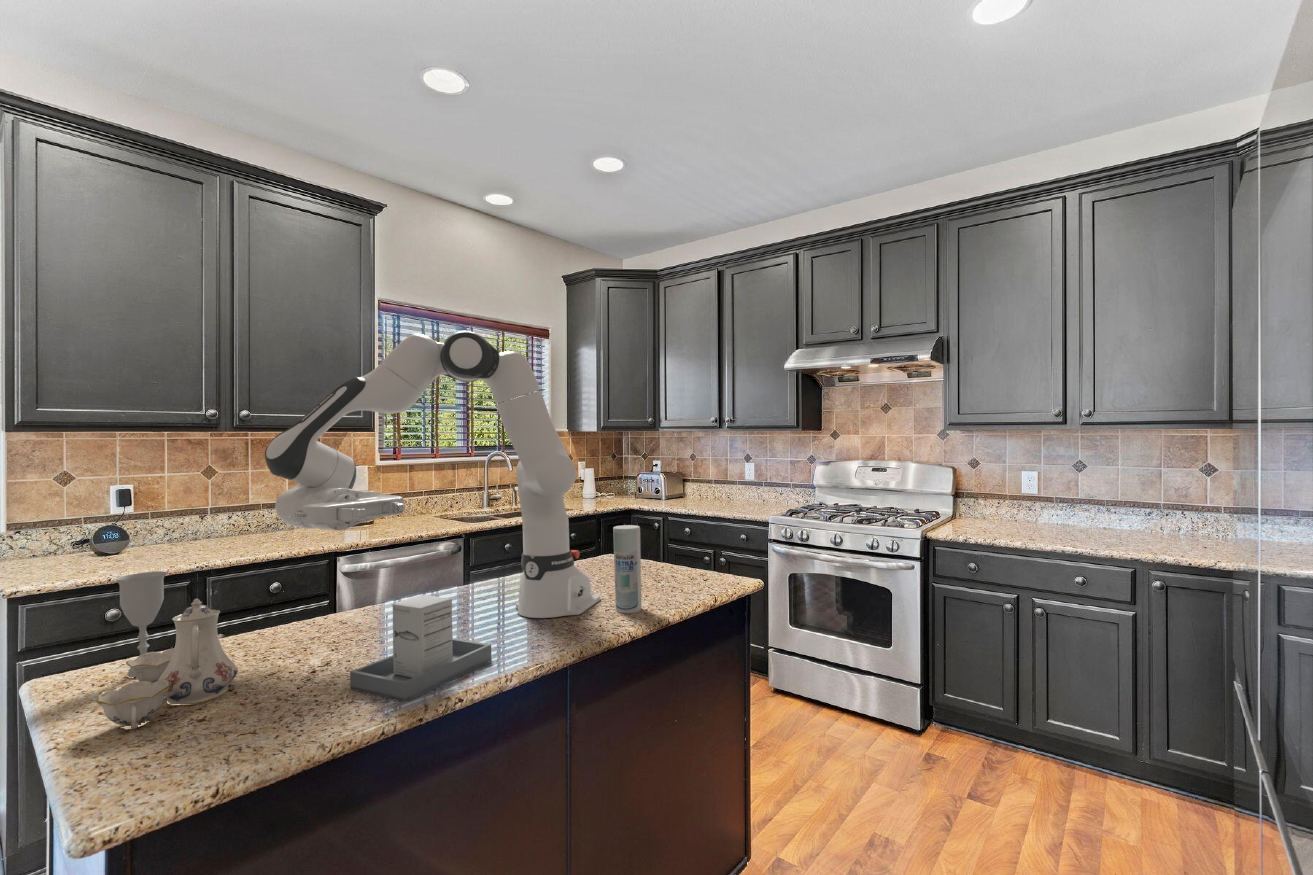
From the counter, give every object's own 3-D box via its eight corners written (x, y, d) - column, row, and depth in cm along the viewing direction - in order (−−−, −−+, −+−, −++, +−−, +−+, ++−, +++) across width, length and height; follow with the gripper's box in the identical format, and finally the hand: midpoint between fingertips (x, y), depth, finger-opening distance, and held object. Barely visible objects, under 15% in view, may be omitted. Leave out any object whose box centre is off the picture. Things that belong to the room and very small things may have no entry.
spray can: (611, 612, 145) (609, 528, 145) (619, 605, 152) (617, 524, 152) (638, 613, 144) (635, 528, 144) (645, 606, 150) (643, 525, 150)
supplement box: (392, 675, 107) (390, 603, 107) (425, 661, 114) (424, 593, 114) (421, 681, 104) (420, 607, 104) (454, 667, 110) (453, 597, 111)
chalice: (166, 662, 118) (164, 569, 118) (171, 671, 113) (169, 574, 113) (116, 673, 113) (114, 576, 113) (118, 683, 108) (116, 581, 108)
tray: (440, 651, 121) (440, 636, 121) (491, 660, 115) (491, 644, 115) (350, 689, 103) (350, 671, 103) (405, 702, 97) (405, 683, 97)
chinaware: (125, 693, 108) (110, 601, 107) (239, 662, 117) (226, 577, 117) (97, 759, 85) (78, 642, 84) (241, 713, 94) (225, 608, 94)
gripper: (287, 498, 119) (334, 500, 113) (377, 490, 137) (421, 490, 131) (288, 531, 119) (335, 534, 113) (377, 518, 137) (422, 520, 131)
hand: (382, 510), depth 122 cm, fingers open, 8 cm apart
